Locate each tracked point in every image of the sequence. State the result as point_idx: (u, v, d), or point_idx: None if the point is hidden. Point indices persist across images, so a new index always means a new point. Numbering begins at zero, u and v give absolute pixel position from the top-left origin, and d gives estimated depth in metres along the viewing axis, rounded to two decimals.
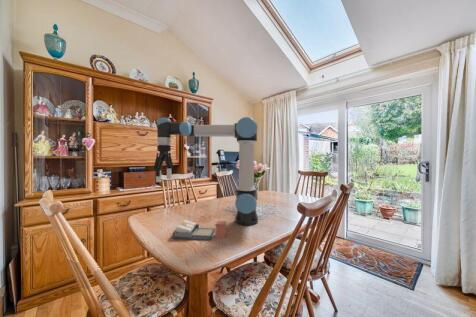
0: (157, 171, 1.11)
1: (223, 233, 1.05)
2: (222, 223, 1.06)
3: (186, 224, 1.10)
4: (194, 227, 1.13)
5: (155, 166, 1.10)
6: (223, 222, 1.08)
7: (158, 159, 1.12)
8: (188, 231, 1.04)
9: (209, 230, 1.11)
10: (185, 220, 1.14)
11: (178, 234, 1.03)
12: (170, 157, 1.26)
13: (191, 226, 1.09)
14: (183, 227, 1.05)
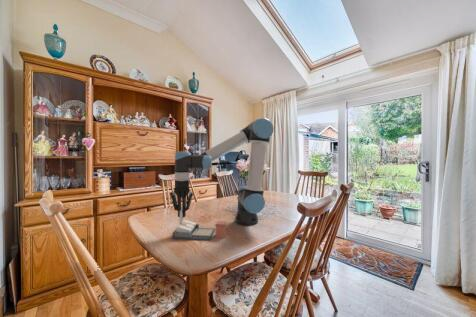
0: None
1: (223, 233, 1.05)
2: (222, 223, 1.06)
3: (186, 224, 1.10)
4: (194, 227, 1.13)
5: None
6: (223, 222, 1.08)
7: None
8: (188, 231, 1.04)
9: (209, 230, 1.11)
10: (185, 220, 1.14)
11: (178, 234, 1.03)
12: None
13: (191, 226, 1.09)
14: (183, 227, 1.05)
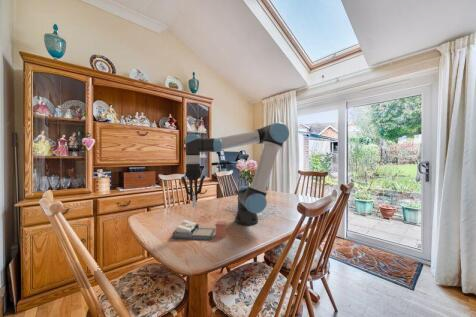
0: (190, 195, 1.08)
1: (223, 233, 1.05)
2: (222, 223, 1.06)
3: (185, 224, 1.10)
4: (194, 227, 1.13)
5: (186, 191, 1.07)
6: (223, 222, 1.08)
7: (184, 184, 1.06)
8: (188, 231, 1.04)
9: (209, 230, 1.11)
10: (185, 220, 1.14)
11: (178, 234, 1.03)
12: (201, 180, 1.09)
13: (190, 224, 1.09)
14: (183, 227, 1.05)
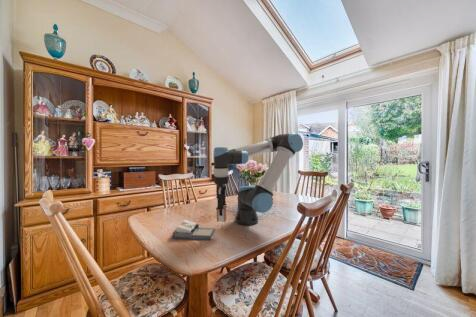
0: (220, 210, 1.03)
1: (224, 217, 1.05)
2: (223, 207, 1.06)
3: (185, 224, 1.10)
4: (194, 227, 1.13)
5: (219, 206, 1.01)
6: (223, 206, 1.08)
7: (220, 197, 1.01)
8: (188, 231, 1.04)
9: (209, 230, 1.11)
10: (185, 220, 1.14)
11: (178, 234, 1.03)
12: None
13: (190, 224, 1.09)
14: (183, 227, 1.05)
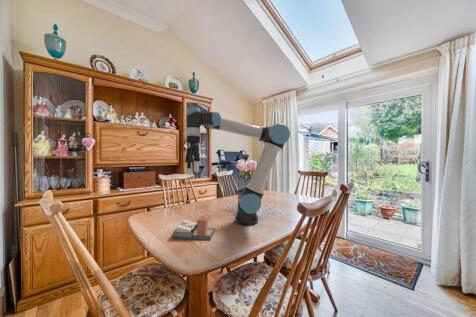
0: (188, 163, 1.05)
1: (204, 229, 1.07)
2: (203, 219, 1.08)
3: (185, 224, 1.10)
4: (194, 227, 1.13)
5: (187, 158, 1.04)
6: (205, 218, 1.09)
7: (189, 150, 1.06)
8: (188, 231, 1.04)
9: (209, 230, 1.11)
10: (185, 220, 1.14)
11: (178, 234, 1.03)
12: (198, 149, 1.20)
13: (190, 224, 1.09)
14: (183, 227, 1.05)
